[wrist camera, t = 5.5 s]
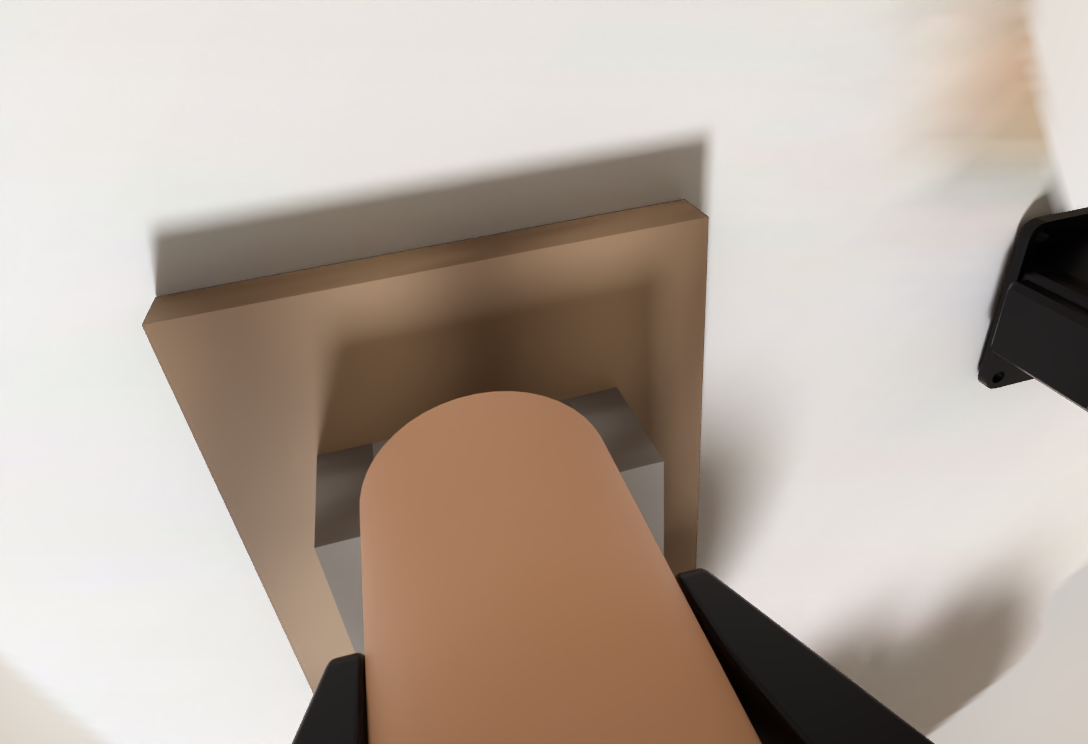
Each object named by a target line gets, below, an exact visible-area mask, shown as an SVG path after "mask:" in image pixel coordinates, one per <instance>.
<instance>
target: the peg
mask: <svg viewBox="0 0 1088 744" xmlns="http://www.w3.org/2000/svg"><path fill="white" fill-rule="evenodd" d="M360 537H361V566H362V595H363V623H364V652H365V676H366V704H367V733H368V744H762V743H761V741H760V739H759V737H758V735H757V733H756V732H755V730H754V728H753V726H752V724H751V722H750V720H749V718H748V716H747V714H746V712H745V711H744V709H743V707H742V705H741V703H740V701H739V699H738V697H737V695H736V693H735V691H734V690H733V688H732V686H731V684H730V682H729V680H728V678H727V676H726V674H725V672H724V670H723V669H722V667H721V665H720V663H719V661H718V659H717V657H716V655H715V653H714V651H713V649H712V648H711V646H710V644H709V642H708V640H707V638H706V636H705V634H704V632H703V630H702V629H701V627H700V625H699V623H698V621H697V619H696V617H695V615H694V613H693V611H692V609H691V608H690V606H689V604H688V602H687V600H686V598H685V596H684V594H683V592H682V590H681V588H680V587H679V585H678V583H677V581H676V579H675V577H674V575H673V573H672V571H671V569H670V567H669V566H668V564H667V562H666V560H665V558H664V556H663V554H662V552H661V550H660V548H659V546H658V545H657V543H656V541H655V539H654V537H653V535H652V533H651V531H650V529H649V527H648V526H647V524H646V522H645V520H644V518H643V516H642V514H641V512H640V510H639V508H638V506H637V505H636V503H635V501H634V499H633V497H632V495H631V493H630V491H629V489H628V487H627V485H626V484H625V482H624V480H623V478H622V476H621V474H620V472H619V470H618V468H617V466H616V464H615V463H614V461H613V459H612V457H611V455H610V453H609V451H608V449H607V447H606V445H605V443H604V442H603V440H602V438H601V436H600V435H599V433H598V432H597V430H596V429H595V428H594V426H593V425H592V424H591V423H590V422H589V421H588V420H587V419H586V418H585V417H584V416H582V415H581V414H580V413H578V412H577V411H576V410H574V409H573V408H571V407H569V406H567V405H565V404H563V403H561V402H559V401H557V400H554V399H551V398H548V397H545V396H541V395H537V394H532V393H527V392H516V391H494V392H486V393H479V394H473V395H469V396H465V397H461V398H457V399H454V400H452V401H449V402H446V403H443V404H441V405H439V406H437V407H434V408H432V409H430V410H428V411H426V412H424V413H423V414H421V415H420V416H418V417H416V418H415V419H413V420H412V421H410V422H409V423H407V424H406V425H405V426H404V427H402V428H401V429H400V430H399V431H398V432H396V433H395V434H394V435H393V436H392V437H391V438H390V439H389V440H388V442H387V443H386V444H385V445H384V446H383V447H382V448H381V450H380V451H379V453H378V454H377V455H376V457H375V458H374V460H373V462H372V463H371V465H370V467H369V469H368V471H367V473H366V476H365V479H364V482H363V485H362V489H361V495H360Z"/></svg>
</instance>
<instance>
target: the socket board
mask: <svg viewBox="0 0 1088 744" xmlns="http://www.w3.org/2000/svg"><path fill="white" fill-rule="evenodd" d="M708 219H709V217H708V216H707V215H705V214H704V213H703V212H701V211H700V210H699V209H697V208H696V207H695V206H693V205H692V204H691V203H689V202H688V201H686V200H685V199H683V200H678V201H673V202H667V203H662V204H656V205H651V206H646V207H640V208H635V209H629V210H624V211H619V212H613V213H608V214H602V215H597V216H592V217H586V218H581V219H575V220H570V221H565V222H559V223H554V224H548V225H543V226H538V227H532V228H527V229H521V230H516V231H511V232H505V233H500V234H494V235H489V236H484V237H478V238H473V239H467V240H462V241H457V242H451V243H446V244H440V245H435V246H430V247H424V248H419V249H413V250H408V251H403V252H397V253H392V254H386V255H381V256H376V257H370V258H365V259H359V260H354V261H349V262H343V263H338V264H332V265H327V266H322V267H316V268H311V269H305V270H300V271H295V272H289V273H284V274H278V275H273V276H268V277H262V278H257V279H251V280H246V281H241V282H235V283H230V284H224V285H219V286H214V287H208V288H203V289H197V290H192V291H187V292H181V293H176V294H170V295H165V296H160V297H155V299H154V301H153V303H152V305H151V307H150V309H149V311H148V313H147V315H146V317H145V319H144V322H143V324H142V327H143V329H144V331H145V333H146V335H147V337H148V339H149V342H150V344H151V346H152V348H153V350H154V352H155V354H156V357H157V359H158V361H159V363H160V365H161V367H162V369H163V372H164V374H165V376H166V378H167V380H168V382H169V385H170V387H171V389H172V391H173V393H174V395H175V397H176V400H177V402H178V404H179V406H180V408H181V410H182V412H183V415H184V417H185V419H186V421H187V423H188V425H189V427H190V430H191V432H192V434H193V436H194V438H195V440H196V442H197V445H198V447H199V449H200V451H201V453H202V455H203V458H204V460H205V462H206V464H207V466H208V468H209V470H210V473H211V475H212V477H213V479H214V481H215V483H216V485H217V488H218V490H219V492H220V494H221V496H222V498H223V500H224V503H225V505H226V507H227V509H228V511H229V513H230V516H231V518H232V520H233V522H234V524H235V526H236V528H237V531H238V533H239V535H240V537H241V539H242V541H243V543H244V546H245V548H246V550H247V552H248V554H249V556H250V558H251V561H252V563H253V565H254V567H255V569H256V571H257V573H258V576H259V578H260V580H261V582H262V584H263V586H264V589H265V591H266V593H267V595H268V597H269V599H270V601H271V604H272V606H273V608H274V610H275V612H276V614H277V616H278V619H279V621H280V623H281V625H282V627H283V629H284V631H285V634H286V636H287V638H288V640H289V642H290V644H291V646H292V649H293V651H294V653H295V655H296V657H297V659H298V662H299V664H300V666H301V668H302V670H303V672H304V674H305V677H306V679H307V681H308V683H309V685H310V687H311V689H312V692H313V694H314V693H315V690H316V688H317V686H318V684H319V681H320V679H321V677H322V674H323V672H324V670H325V668H326V666H327V664H328V663H329V662H330V661H331V660H332V659H334V658H338V657H342V656H346V655H350V654H354V653H362V654H363V655H364V656H365V652H364V623H363V595H362V566H361V537H360V495H361V489H362V485H363V482H364V479H365V476H366V473H367V471H368V469H369V467H370V465H371V463H372V462H373V460H374V458H375V457H376V455H377V454H378V453H379V451H380V450H381V448H382V447H383V446H384V445H385V444H386V443H387V442H388V440H389V439H390V438H391V437H392V436H393V435H394V434H395V433H396V432H398V431H399V430H400V429H401V428H402V427H404V426H405V425H406V424H407V423H409V422H410V421H412V420H413V419H415V418H416V417H418V416H420V415H421V414H423V413H424V412H426V411H428V410H430V409H432V408H434V407H437V406H439V405H441V404H443V403H446V402H449V401H452V400H454V399H457V398H461V397H465V396H469V395H473V394H479V393H486V392H494V391H516V392H527V393H532V394H537V395H541V396H545V397H548V398H551V399H554V400H557V401H559V402H561V403H563V404H565V405H567V406H569V407H571V408H573V409H574V410H576V411H577V412H578V413H580V414H581V415H582V416H584V417H585V418H586V419H587V420H588V421H589V422H590V423H591V424H592V425H593V426H594V428H595V429H596V430H597V432H598V433H599V435H600V436H601V438H602V440H603V442H604V443H605V445H606V447H607V449H608V451H609V453H610V455H611V457H612V459H613V461H614V463H615V464H616V466H617V468H618V470H619V472H620V474H621V476H622V478H623V480H624V482H625V484H626V485H627V487H628V489H629V491H630V493H631V495H632V497H633V499H634V501H635V503H636V505H637V506H638V508H639V510H640V512H641V514H642V516H643V518H644V520H645V522H646V524H647V526H648V527H649V529H650V531H651V533H652V535H653V537H654V539H655V541H656V543H657V545H658V546H659V548H660V550H661V552H662V554H663V556H664V558H665V560H666V562H667V564H668V566H669V567H670V569H671V571H672V573H673V575H674V576H675V575H676V574H678V573H681V572H685V571H689V570H693V569H696V546H697V518H698V491H699V464H700V437H701V410H702V382H703V355H704V328H705V301H706V274H707V246H708Z"/></svg>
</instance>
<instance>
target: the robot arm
mask: <svg viewBox="0 0 1088 744" xmlns="http://www.w3.org/2000/svg"><path fill="white" fill-rule="evenodd" d="M1030 379H1036V380H1038V381H1039V382H1041V383H1042V384H1044V385H1046V386H1047V387H1049V388H1050V389H1052V390H1054V391H1055V392H1057V393H1058V394H1060V395H1062V396H1063V397H1065V398H1066V399H1068V400H1069V401H1071V402H1073V403H1074V404H1076V405H1077V406H1079V407H1081V408H1082V409H1084V410H1085V411H1087V412H1088V207H1087V208H1082V209H1077V210H1072V211H1068V212H1063V213H1058V214H1053V215H1048V216H1044V217H1039V218H1035V219H1033V220H1031V221H1030V222H1028V223H1027V224H1026V225H1025V226H1024V227H1023V229H1022V230H1021V233H1020V235H1019V238H1018V241H1017V245H1016V248H1015V252H1014V255H1013V258H1012V262H1011V265H1010V269H1009V272H1008V275H1007V279H1006V282H1005V286H1004V289H1003V292H1002V296H1001V299H1000V303H999V306H998V309H997V313H996V316H995V320H994V323H993V326H992V330H991V333H990V337H989V340H988V343H987V347H986V350H985V354H984V357H983V360H982V364H981V367H980V371H979V374H978V380H979V382H981V383H982V384H984V385H985V386H987V387H988V388H990V389H993V388H998V387H1002V386H1006V385H1010V384H1014V383H1018V382H1022V381H1026V380H1030ZM674 577H675V579H676V581H677V583H678V585H679V587H680V588H681V590H682V592H683V594H684V596H685V598H686V600H687V602H688V604H689V606H690V608H691V609H692V611H693V613H694V615H695V617H696V619H697V621H698V623H699V625H700V627H701V629H702V630H703V632H704V634H705V636H706V638H707V640H708V642H709V644H710V646H711V648H712V649H713V651H714V653H715V655H716V657H717V659H718V661H719V663H720V665H721V667H722V669H723V670H724V672H725V674H726V676H727V678H728V680H729V682H730V684H731V686H732V688H733V690H734V691H735V693H736V695H737V697H738V699H739V701H740V703H741V705H742V707H743V709H744V711H745V712H746V714H747V716H748V718H749V720H750V722H751V724H752V726H753V728H754V730H755V732H756V733H757V735H758V737H759V739H760V741H761V743H762V744H934V743H933V742H932V741H930V740H929V739H928V738H926V737H925V736H924V735H922V734H921V733H920V732H918V731H917V730H916V729H915V728H913V727H912V726H911V725H909V724H908V723H907V722H905V721H904V720H903V719H901V718H900V717H899V716H898V715H896V714H895V713H894V712H892V711H891V710H890V709H888V708H887V707H886V706H884V705H883V704H882V703H880V702H879V701H878V700H877V699H875V698H874V697H873V696H871V695H870V694H869V693H867V692H866V691H865V690H863V689H862V688H861V687H859V686H858V685H857V684H856V683H854V682H853V681H852V680H850V679H849V678H848V677H846V676H845V675H844V674H842V673H841V672H840V671H839V670H837V669H836V668H835V667H833V666H832V665H831V664H829V663H828V662H827V661H825V660H824V659H823V658H821V657H820V656H819V655H818V654H816V653H815V652H814V651H812V650H811V649H810V648H808V647H807V646H806V645H804V644H803V643H802V642H800V641H799V640H798V639H797V638H795V637H794V636H793V635H791V634H790V633H789V632H787V631H786V630H785V629H783V628H782V627H781V626H780V625H778V624H777V623H776V622H774V621H773V620H772V619H770V618H769V617H768V616H766V615H765V614H764V613H762V612H761V611H760V610H759V609H757V608H756V607H755V606H753V605H752V604H751V603H749V602H748V601H747V600H745V599H744V598H743V597H742V596H740V595H739V594H738V593H736V592H735V591H734V590H732V589H731V588H730V587H728V586H727V585H726V584H724V583H723V582H722V581H721V580H719V579H718V578H717V577H715V576H714V575H713V574H711V573H710V572H709V571H707V570H705V569H702V568H697V569H693V570H689V571H685V572H681V573H678V574H676V575H675V576H674ZM292 744H368V733H367V704H366V676H365V656H364V655H363V654H362V653H354V654H350V655H346V656H342V657H338V658H334V659H332V660H331V661H330V662H329V663H328V664H327V666H326V668H325V670H324V672H323V674H322V677H321V679H320V681H319V684H318V686H317V688H316V690H315V693H314V695H313V697H312V699H311V702H310V704H309V706H308V708H307V711H306V713H305V715H304V717H303V720H302V722H301V724H300V727H299V729H298V731H297V733H296V736H295V738H294V740H293V742H292Z"/></svg>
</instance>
